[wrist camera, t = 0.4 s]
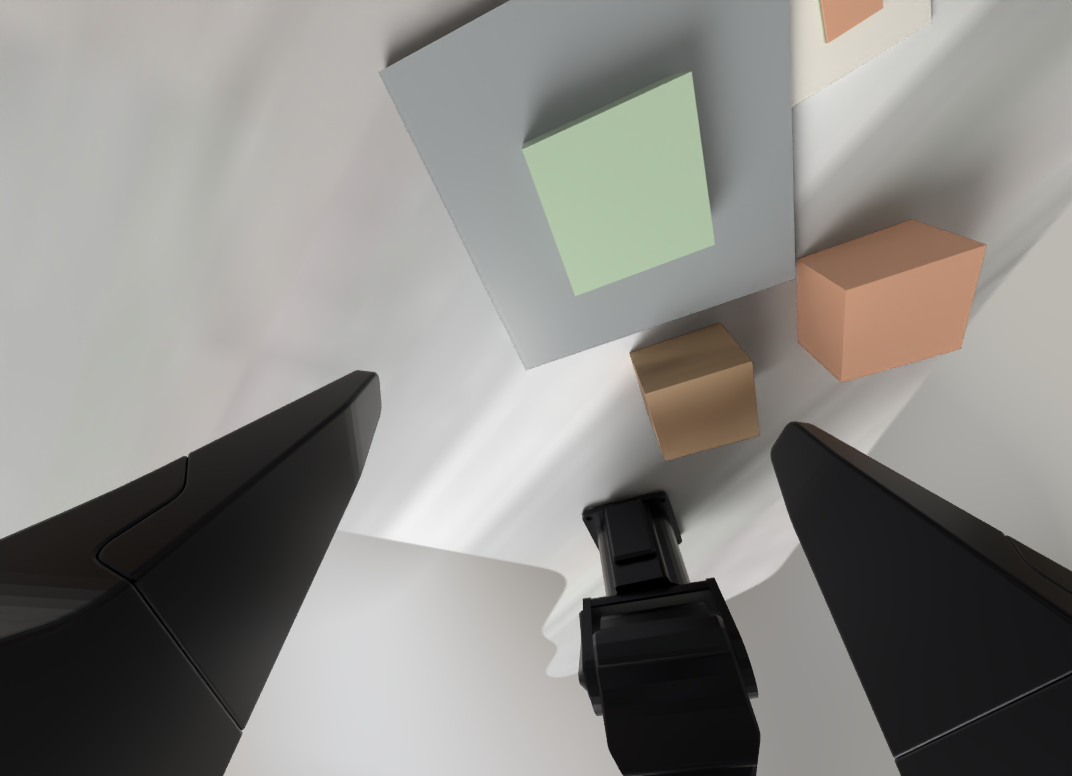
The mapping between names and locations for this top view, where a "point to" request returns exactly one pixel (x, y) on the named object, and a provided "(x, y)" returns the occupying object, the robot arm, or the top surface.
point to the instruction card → (845, 37)
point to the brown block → (697, 391)
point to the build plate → (575, 76)
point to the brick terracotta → (887, 298)
